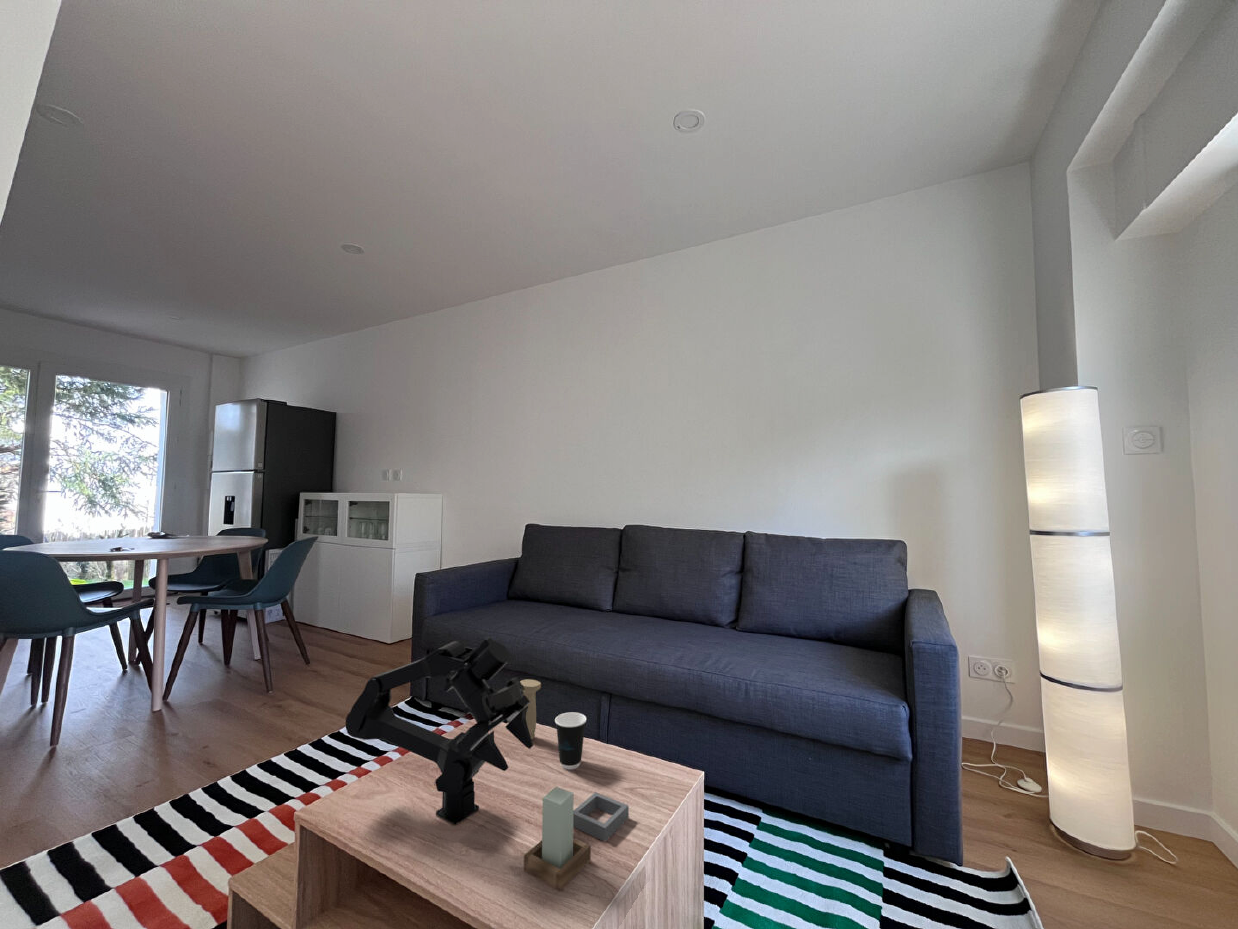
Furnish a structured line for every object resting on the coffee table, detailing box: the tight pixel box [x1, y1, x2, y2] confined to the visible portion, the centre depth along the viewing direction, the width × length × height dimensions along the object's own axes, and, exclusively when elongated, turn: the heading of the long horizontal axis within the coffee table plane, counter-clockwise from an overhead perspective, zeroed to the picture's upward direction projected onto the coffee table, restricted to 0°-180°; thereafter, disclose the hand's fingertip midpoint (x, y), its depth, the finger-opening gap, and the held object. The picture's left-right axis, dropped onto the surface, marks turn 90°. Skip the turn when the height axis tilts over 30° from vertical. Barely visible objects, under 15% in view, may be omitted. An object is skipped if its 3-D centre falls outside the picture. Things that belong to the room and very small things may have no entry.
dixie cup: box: [554, 711, 587, 770], centre depth 122 cm, size 8×8×11 cm
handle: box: [519, 678, 542, 741], centre depth 136 cm, size 5×6×15 cm
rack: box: [523, 837, 592, 892], centre depth 88 cm, size 8×8×2 cm
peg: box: [541, 786, 575, 869], centre depth 88 cm, size 4×4×12 cm
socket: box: [573, 792, 630, 842], centre depth 100 cm, size 8×8×2 cm
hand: (519, 758), depth 99 cm, fingers open, 9 cm apart
